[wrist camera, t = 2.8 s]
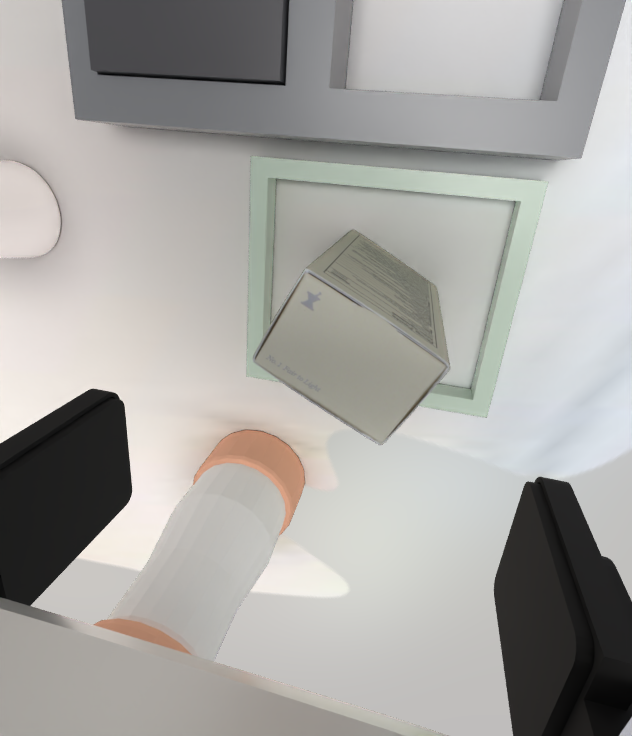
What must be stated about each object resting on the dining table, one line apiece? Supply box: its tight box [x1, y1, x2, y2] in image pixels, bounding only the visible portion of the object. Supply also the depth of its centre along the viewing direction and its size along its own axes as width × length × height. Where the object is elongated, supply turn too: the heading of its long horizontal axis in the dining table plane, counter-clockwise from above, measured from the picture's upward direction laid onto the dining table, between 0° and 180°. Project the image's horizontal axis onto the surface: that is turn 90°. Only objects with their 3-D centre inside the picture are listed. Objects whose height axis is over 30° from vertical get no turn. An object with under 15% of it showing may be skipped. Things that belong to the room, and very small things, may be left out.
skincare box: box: [252, 230, 450, 445], centre depth 22 cm, size 6×4×12 cm
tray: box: [246, 156, 548, 418], centre depth 27 cm, size 13×15×2 cm
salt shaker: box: [94, 430, 305, 662], centre depth 26 cm, size 7×7×19 cm
